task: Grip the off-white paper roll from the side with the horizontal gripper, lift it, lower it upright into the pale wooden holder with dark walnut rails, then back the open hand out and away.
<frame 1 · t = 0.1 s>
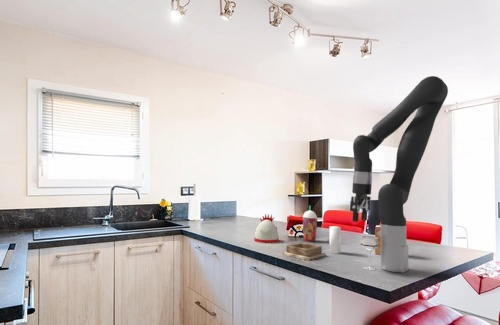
hand: (359, 221, 131), 17 cm above the table, tool pointing down, fingers open, 8 cm apart
kitchen timer: (266, 241, 175), on the table
paper roll: (335, 252, 149), on the table
smoothie: (309, 241, 177), on the table
small box: (384, 254, 148), on the table
wineglass: (369, 269, 121), on the table
holder: (304, 255, 142), on the table
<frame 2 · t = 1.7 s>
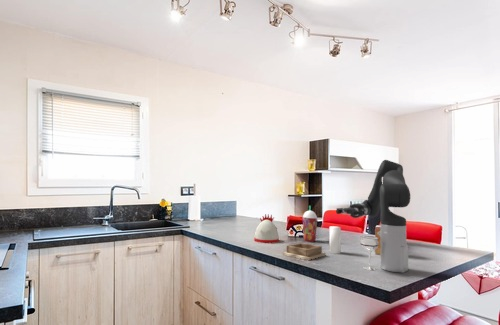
hand: (345, 212, 158), 18 cm above the table, tool horizontal, fingers open, 8 cm apart
nothing on the table moved.
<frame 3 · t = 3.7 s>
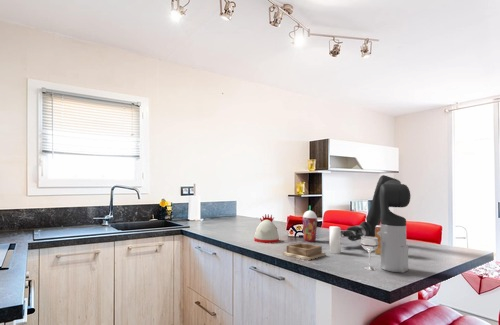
hand: (341, 236, 154), 7 cm above the table, tool horizontal, fingers open, 8 cm apart
nothing on the table moved.
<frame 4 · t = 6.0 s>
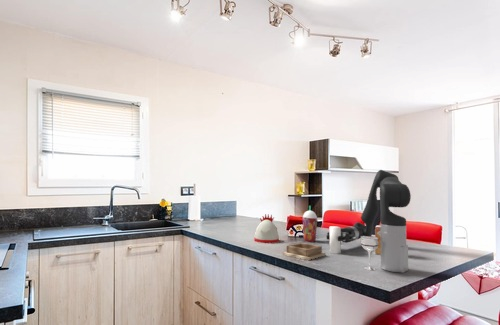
hand: (333, 238, 148), 7 cm above the table, tool horizontal, fingers closed on paper roll, 5 cm apart
paper roll: (335, 252, 149), on the table, touching gripper
everything else where it was.
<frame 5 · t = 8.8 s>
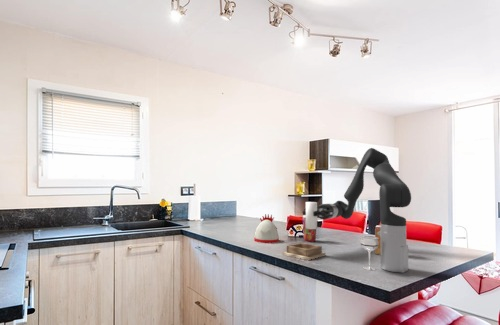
hand: (308, 213, 143), 19 cm above the table, tool horizontal, fingers closed on paper roll, 5 cm apart
paper roll: (311, 228, 144), point 12 cm above the table, touching gripper
everything else where it was.
when the fingers open (9 cm above the table, at t = 12.0 s): paper roll drops 1 cm, resting on holder.
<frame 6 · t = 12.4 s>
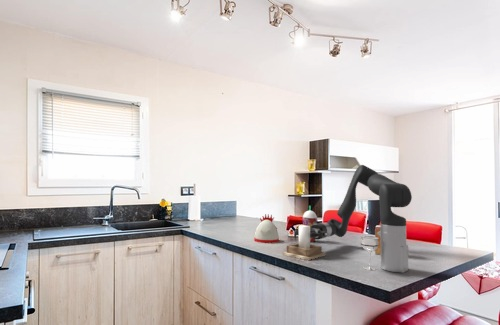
hand: (302, 234, 141), 10 cm above the table, tool horizontal, fingers open, 8 cm apart
paper roll: (304, 252, 142), point 1 cm above the table, touching holder
everything else where it was.
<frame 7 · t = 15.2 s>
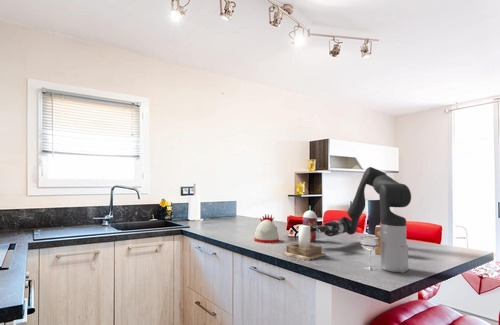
hand: (317, 231, 151), 10 cm above the table, tool horizontal, fingers open, 8 cm apart
nothing on the table moved.
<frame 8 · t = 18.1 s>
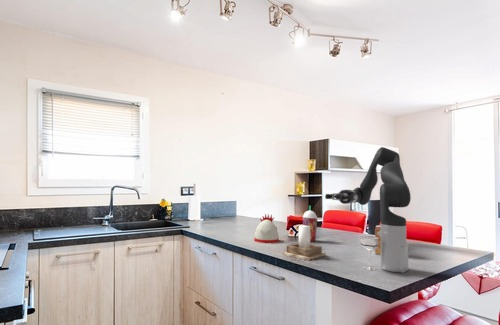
hand: (333, 197, 158), 26 cm above the table, tool horizontal, fingers open, 8 cm apart
nothing on the table moved.
at the end: paper roll 0.1 cm off-centre on the holder, point 1.0 cm above the holder's base; paper roll tilted 0°; the gripper is holding nothing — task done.
